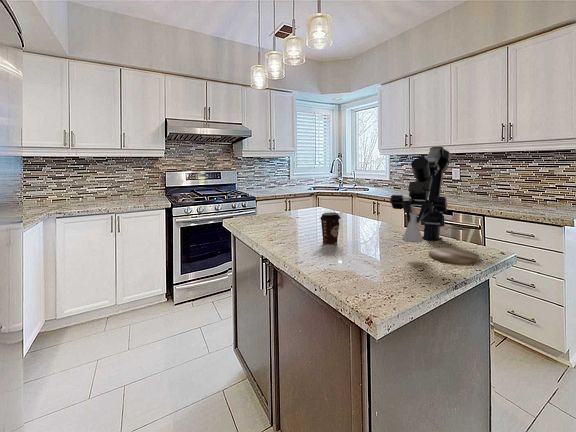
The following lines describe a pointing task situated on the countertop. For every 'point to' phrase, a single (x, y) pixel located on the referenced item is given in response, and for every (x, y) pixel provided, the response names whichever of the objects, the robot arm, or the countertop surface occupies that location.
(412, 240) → the flask
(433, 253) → the walnut board
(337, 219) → the coffee cup
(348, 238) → the countertop surface
